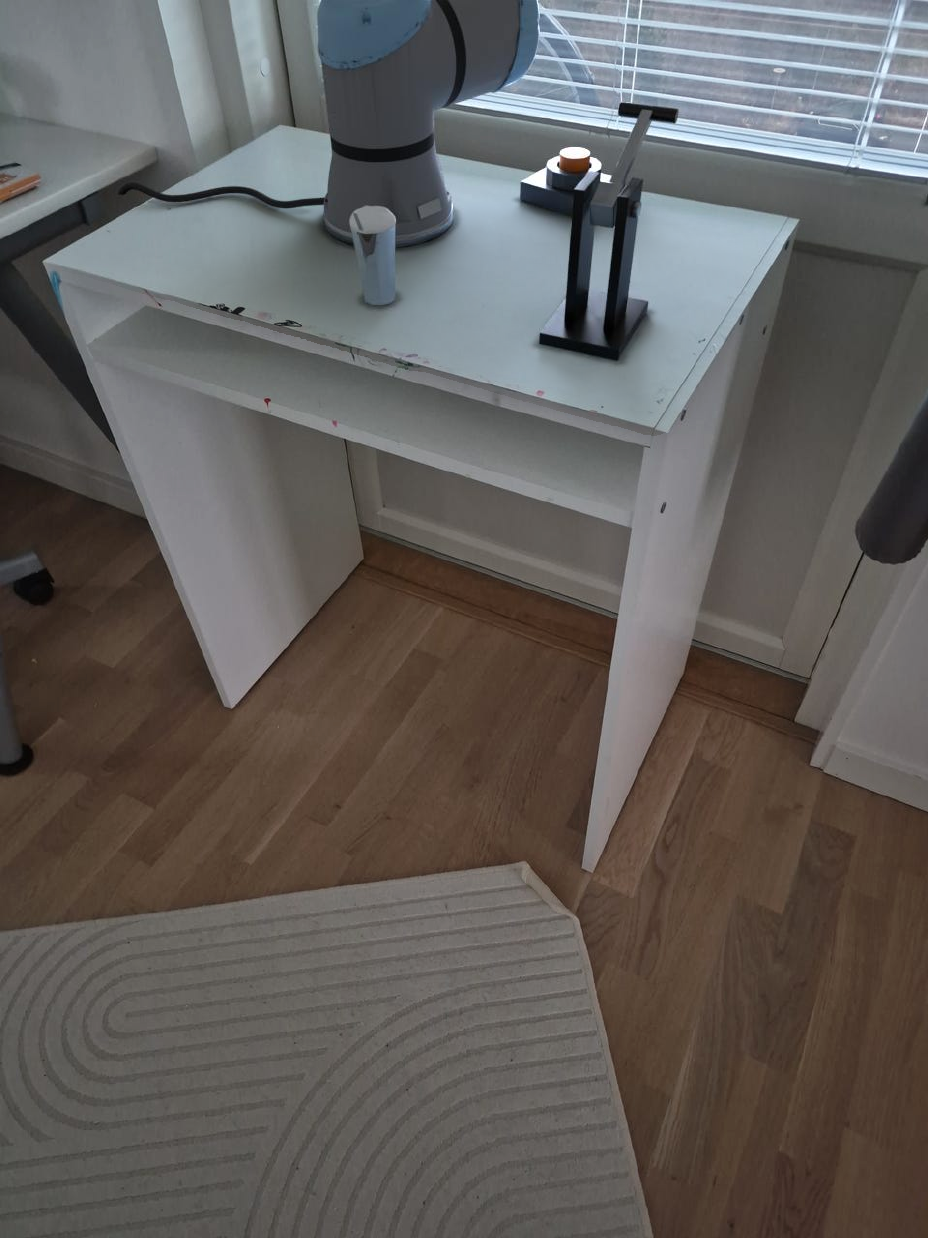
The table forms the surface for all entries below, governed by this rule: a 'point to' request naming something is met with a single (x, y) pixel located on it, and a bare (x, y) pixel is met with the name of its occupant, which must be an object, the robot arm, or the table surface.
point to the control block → (556, 185)
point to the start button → (574, 159)
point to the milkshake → (375, 252)
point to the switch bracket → (585, 313)
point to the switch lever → (626, 160)
